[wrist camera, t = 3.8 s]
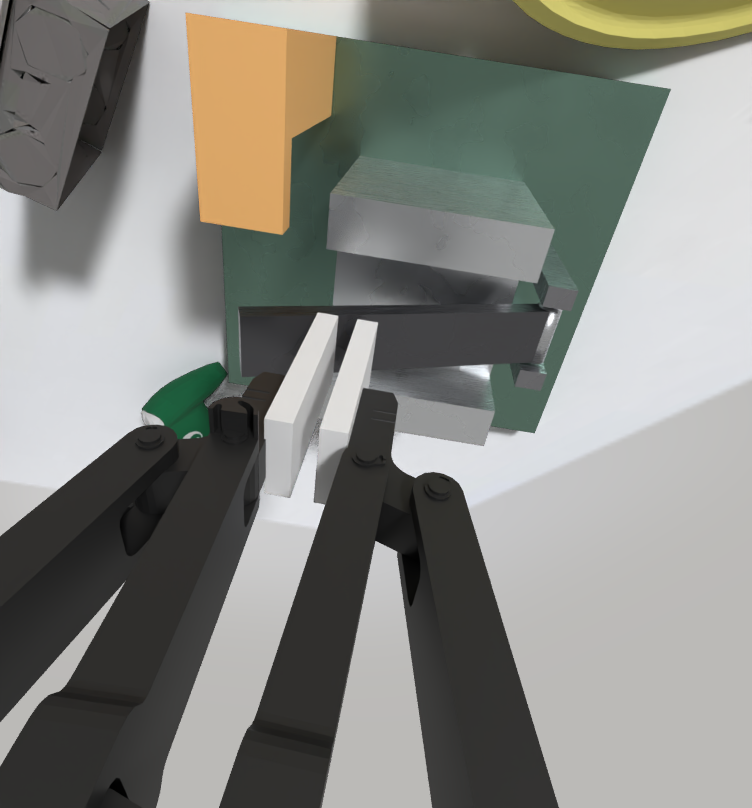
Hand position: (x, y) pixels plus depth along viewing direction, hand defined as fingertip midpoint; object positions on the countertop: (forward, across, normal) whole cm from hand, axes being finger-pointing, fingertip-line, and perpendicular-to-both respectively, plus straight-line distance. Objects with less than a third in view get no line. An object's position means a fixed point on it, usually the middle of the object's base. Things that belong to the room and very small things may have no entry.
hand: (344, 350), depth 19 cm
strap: (+3, -2, 0) cm, 3 cm away
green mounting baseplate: (+12, -2, 0) cm, 12 cm away
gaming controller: (+12, +10, +14) cm, 21 cm away
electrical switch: (+12, +14, -7) cm, 20 cm away
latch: (+10, +4, -6) cm, 13 cm away
